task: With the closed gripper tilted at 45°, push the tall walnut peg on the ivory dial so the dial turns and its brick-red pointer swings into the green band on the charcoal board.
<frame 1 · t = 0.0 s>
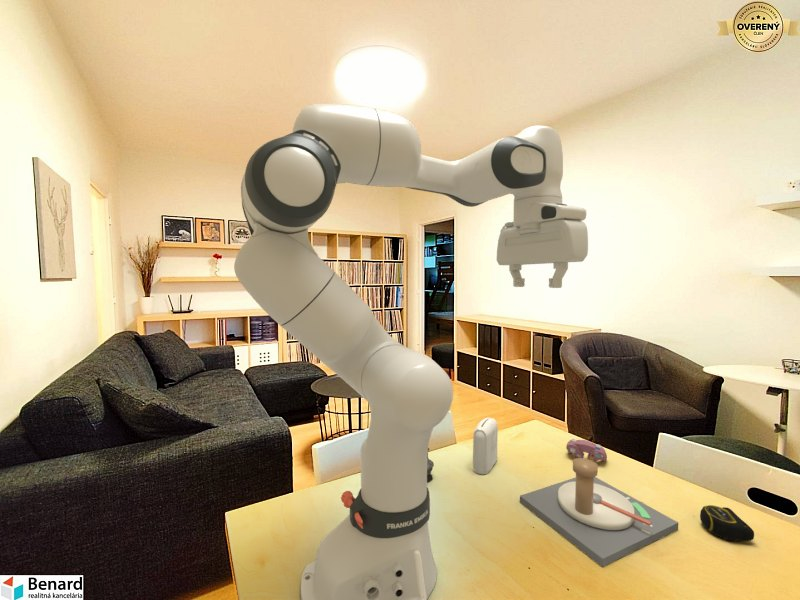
hand: (535, 287, 71), 48 cm above the table, fingers open, 8 cm apart
dial board: (594, 515, 76), on the table
tape measure: (725, 532, 71), on the table
dark grey chess piece: (422, 478, 91), on the table
tuning dial: (602, 484, 74), point 7 cm above the table, hinge at 0.0°
pink toy car: (586, 460, 99), on the table
photo printer: (485, 466, 96), on the table
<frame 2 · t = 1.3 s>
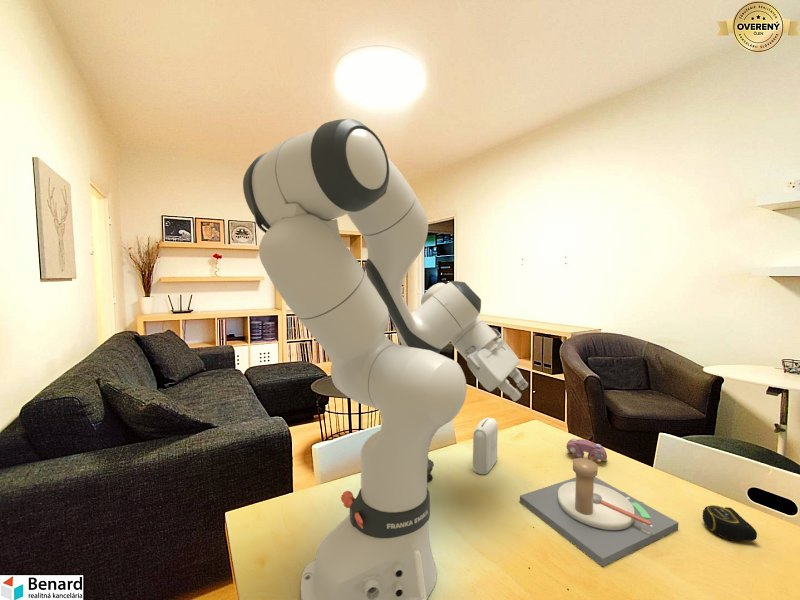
hand: (522, 393, 77), 25 cm above the table, fingers open, 7 cm apart
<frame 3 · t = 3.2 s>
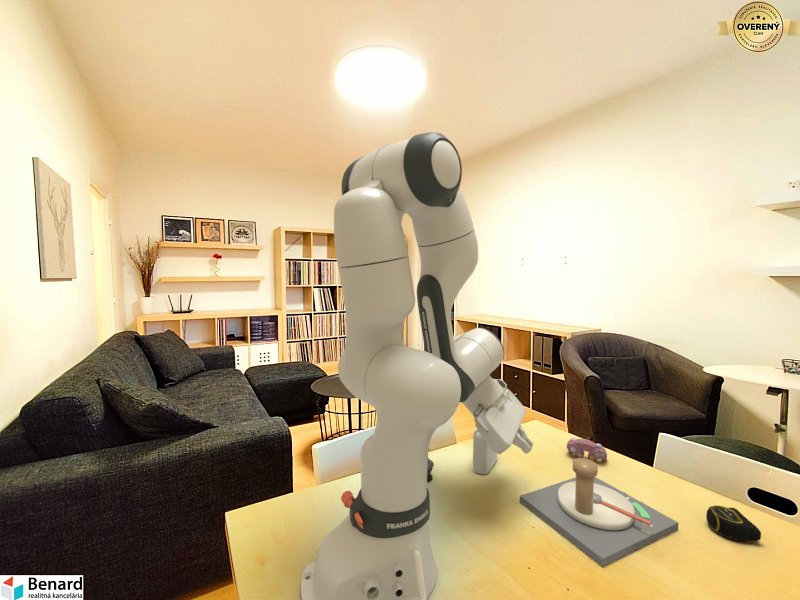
hand: (530, 449, 78), 13 cm above the table, fingers closed
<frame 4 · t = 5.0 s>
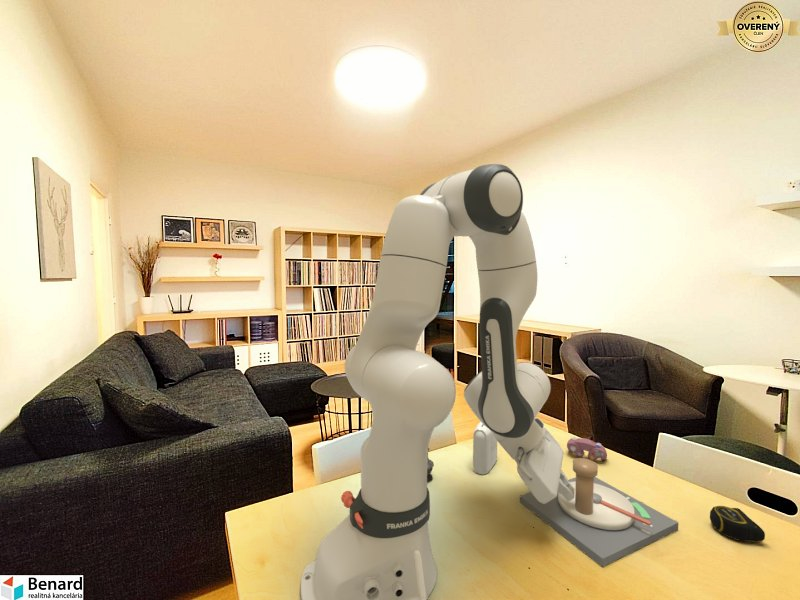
hand: (572, 495, 74), 5 cm above the table, fingers closed, pressing on tuning dial
tuning dial: (602, 484, 74), point 7 cm above the table, hinge at 0.1°, touching gripper
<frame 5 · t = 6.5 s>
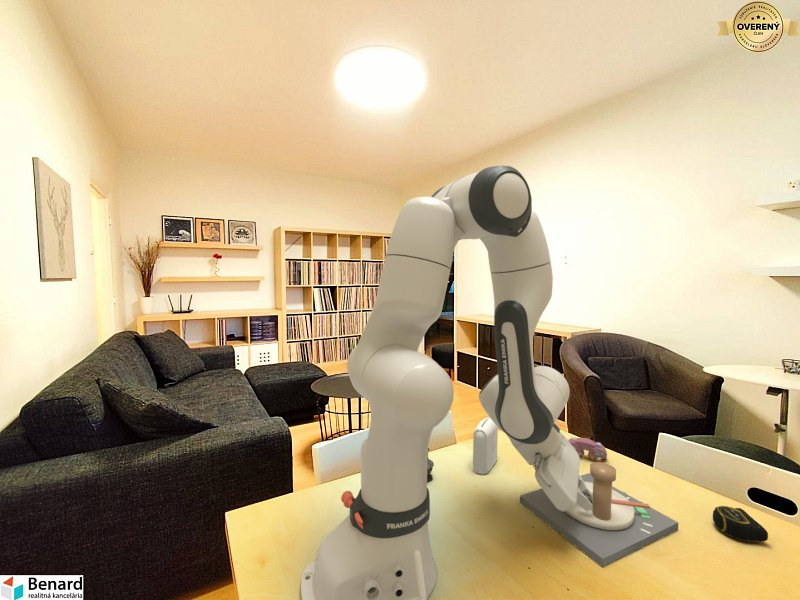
hand: (590, 503, 72), 5 cm above the table, fingers closed on tuning dial
tuning dial: (603, 482, 75), point 7 cm above the table, hinge at 36.3°, touching gripper
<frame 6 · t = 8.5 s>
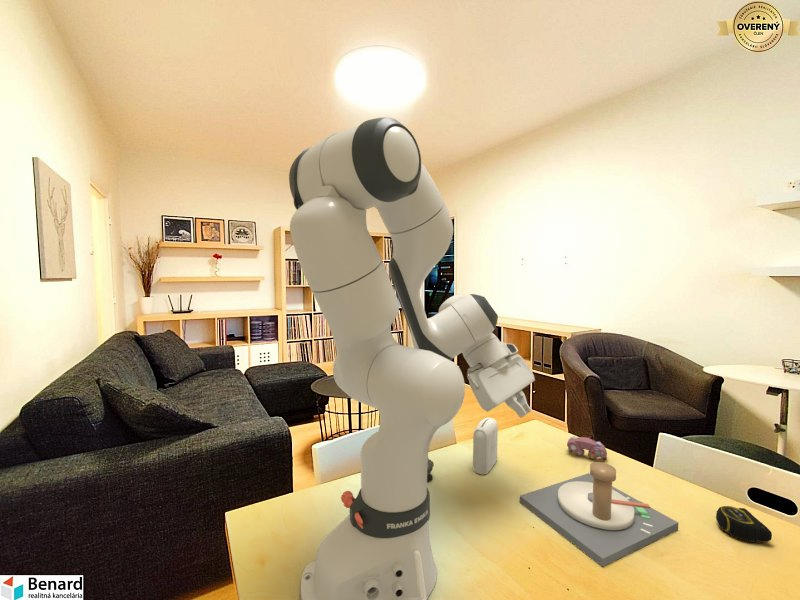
hand: (526, 414, 77), 21 cm above the table, fingers closed
tuning dial: (603, 482, 75), point 7 cm above the table, hinge at 36.3°
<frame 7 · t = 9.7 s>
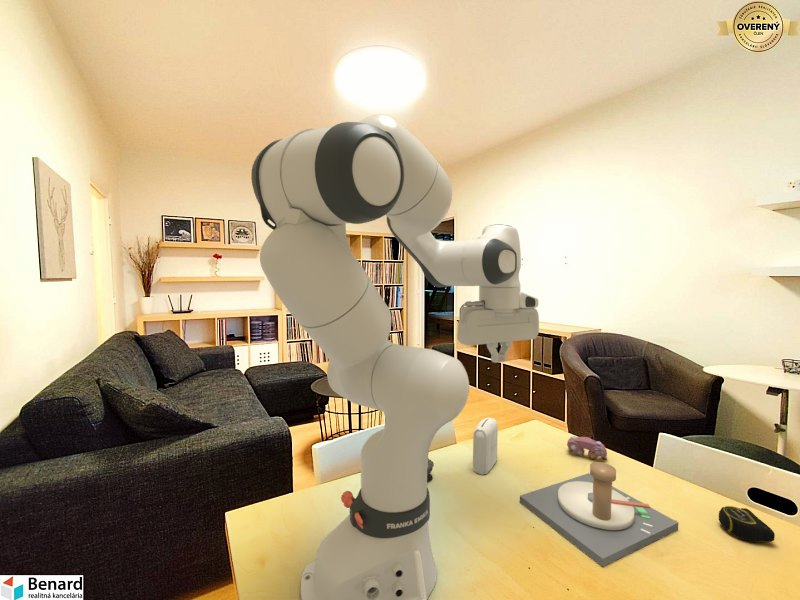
hand: (498, 361, 81), 31 cm above the table, fingers closed
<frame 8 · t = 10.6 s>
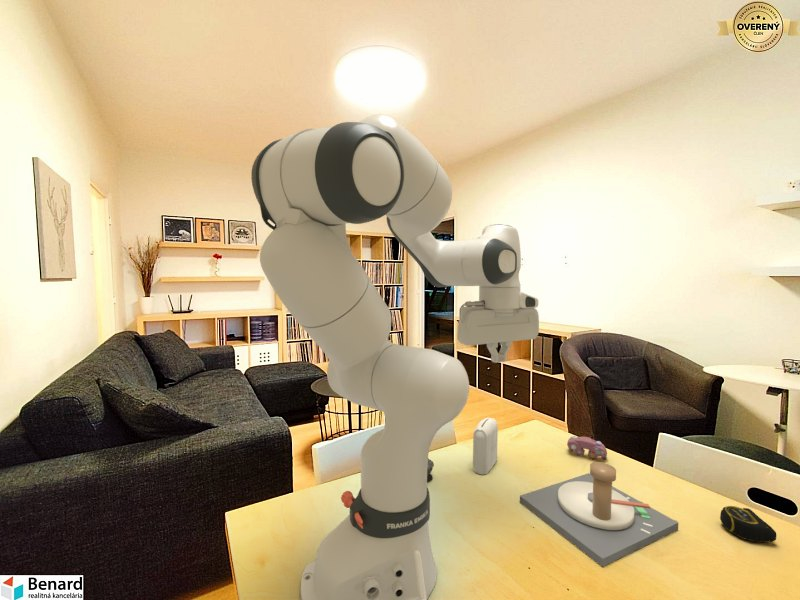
hand: (498, 361, 81), 31 cm above the table, fingers closed
at the end: tuning dial at +36° (first picture: +0°) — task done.
